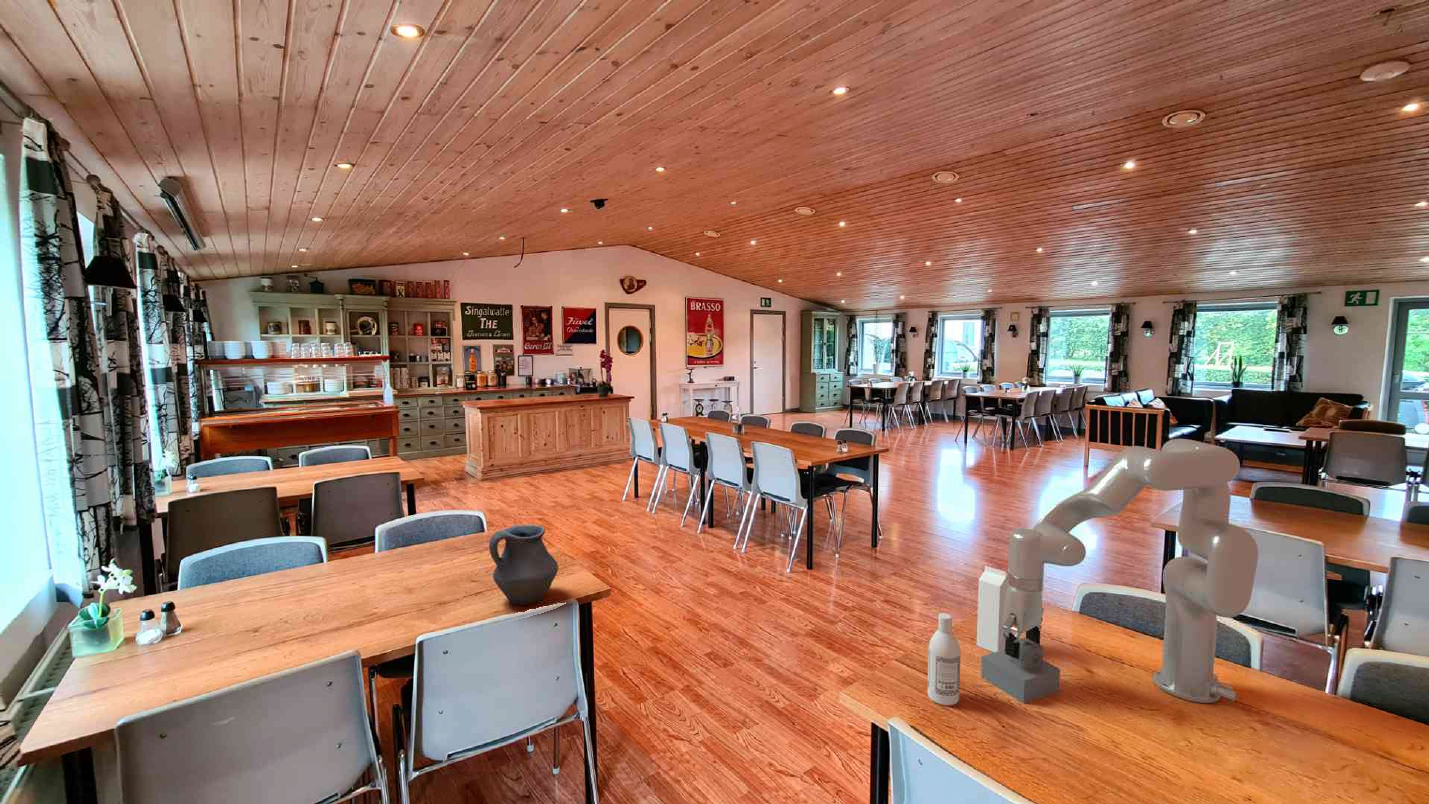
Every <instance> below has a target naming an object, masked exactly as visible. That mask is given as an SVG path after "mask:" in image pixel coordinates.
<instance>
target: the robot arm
mask: <svg viewBox="0 0 1429 804" xmlns="http://www.w3.org/2000/svg"><path fill="white" fill-rule="evenodd" d="M1240 468H1241V464H1240V460H1239V458H1238V456H1237V455H1236V454H1235V453H1234V452H1233V451H1232V450H1230V449H1228V448H1226V447H1223V446H1220V445H1215V444H1211V443H1206V442H1202V441H1198V440H1192V439H1187V438H1174V439H1170V440H1168V441H1166V443H1164V444H1163V445H1162V448H1161V450H1158V449H1154V448H1150V447H1146V446H1140V445H1133V446H1132V445H1131V446H1127V447H1126V448H1124V449H1123V450H1122V451H1120V452H1119V454H1118V455H1116V456H1115V457H1114V459H1113V460H1112V461H1111V462H1110V463H1109V464H1108V465H1107V466H1106V467H1105V468H1104V469H1103V470H1102V471H1101V472H1100V473H1099V474H1098V476H1096V477H1095V479H1093V481H1092V482H1091V483H1090V484H1089V485H1088V486H1087V487H1086V488H1085V489H1083V490H1082V491H1079V492H1077V493H1075V494H1072V495H1071V496H1069V497H1067V498H1065V499H1063V500H1061V501H1059V502H1058V503H1056V504H1055V505H1052V507H1050V509H1048V510H1047V511H1046V512H1045V514H1043V516H1042V517H1041V518H1040V519H1039V520H1038V521H1037V522H1036V523H1035V525H1034V527H1033V528H1032V529H1031V528H1020V527H1019V528H1015V529H1013V530H1011V532H1010V533H1009V539H1008V543H1009V544H1008V569H1007V578H1008V586H1009V587H1008V588H1007V592H1006V597H1005V604H1004V613H1003V626H1002V629H1003V634H1004V638H1005V654H1006V655H1009V656H1011V657H1013V658H1016V659H1018V658H1019V654H1020V642H1018V640H1019V639H1021V635H1022V634H1023V633H1025V638H1027V639H1029V640H1031V641H1033V642H1035V643H1037V644H1039V645H1041V630H1042V626H1043V625H1042V622H1043V615H1044V611H1045V608H1044V607H1043V591H1044V575H1045V574H1044V573H1045V572H1044V571H1045V570H1044V569H1045V564H1048V565H1055V566H1060V567H1074V566H1078V565H1079V564H1081V563H1082V562H1083V561H1084V560H1085V558H1086V556H1087V549H1086V546H1085V545H1084V543H1083V542H1082V541H1081V540H1080V539H1079V538H1078V537H1077V536H1075V535H1074V534H1072V533H1070V532H1072V530H1073V529H1074V528H1076V527H1077V526H1078V525H1080V524H1082V523H1083V522H1086V521H1088V520H1092V519H1099V518H1108V517H1113V516H1117V515H1120V514H1122V513H1123V511H1124V510H1125V509H1126V508H1127V507H1128V506H1129V505H1130V504H1131V503H1132V502H1133V501H1134V500H1135V499H1136V498H1137V497H1138V496H1139V495H1140V494H1141V493H1142V492H1143V491H1144V490H1145V489H1146V488H1147V487H1149V488H1151V489H1153V490H1157V491H1164V492H1165V491H1182V494H1183V495H1182V503H1181V510H1180V516H1179V520H1178V521H1179V522H1178V527H1177V541H1178V544H1179V545H1180V546H1181V547H1182V548H1183V549H1185V550H1186V551H1188V552H1189V553H1191V554H1193V555H1196V556H1198V557H1200V558H1201V559H1205V560H1206V561H1207V562H1205V561H1203V560H1201V559H1197V558H1194V557H1191V556H1177V557H1175V558H1173V559H1170V560H1169V561H1168V562H1167V564H1165V566H1164V569H1163V572H1162V574H1163V575H1162V583H1163V588H1164V589H1163V590H1164V595H1165V615H1164V618H1165V619H1164V635H1163V647H1162V660H1161V661H1162V663H1161V664H1162V665H1161V669H1159V670H1157V671H1155V672H1154V673H1153V681H1154V683H1155V684H1156V686H1158V687H1159V688H1160V689H1162V690H1163V691H1164V692H1166V693H1168V694H1170V695H1173V696H1174V697H1177V698H1180V699H1183V700H1185V701H1191V702H1195V703H1201V704H1211V703H1216V702H1218V701H1219V700H1220V699H1221V697H1223V698H1225V699H1228V700H1230V701H1233V702H1235V701H1236V699H1237V692H1235V691H1234V690H1233V686H1229V685H1226V684H1222V683H1221V682H1220V681H1218V677H1219V675H1217V674H1214V673H1215V657H1216V655H1215V654H1216V646H1217V645H1216V644H1217V643H1216V642H1217V629H1218V620H1217V616H1218V617H1219V618H1220V617H1221V618H1229V619H1230V618H1235V617H1238V616H1240V615H1241V614H1243V612H1245V610H1246V609H1247V608H1248V607H1249V604H1250V601H1251V599H1252V595H1253V594H1252V593H1253V588H1254V582H1255V578H1256V572H1257V567H1258V561H1259V548H1258V547H1259V546H1258V544H1257V542H1256V540H1255V538H1254V537H1253V536H1252V534H1251V533H1249V532H1248V530H1246V529H1244V528H1243V527H1240V526H1238V525H1235V524H1232V523H1230V519H1229V518H1230V509H1231V490H1230V487H1229V484H1228V483H1230V482H1231V481H1233V480H1234V479H1235V478H1236V477H1237V476H1238V475H1239V472H1240ZM1012 631H1013V632H1014V633H1015V632H1016V633H1015V634H1014V633H1012Z"/></svg>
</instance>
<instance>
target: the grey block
mask: <svg viewBox="0 0 1429 804" xmlns="http://www.w3.org/2000/svg"><path fill="white" fill-rule="evenodd" d="M980 668H981V669H980V670H981V671H980V672H981V673H980V678H981V677H982V678H981V679H983V680H984V679H985V681H986V680H987V681H986V682H988V683H989V682H990V683H989V684H991V685H992V686H994V687H995V688H997V689H999V690H1001V691H1002V692H1003V693H1005V694H1007V695H1008V696H1010V697H1012V698H1014V699H1015V700H1016V701H1018V702H1020V703H1021V702H1022V703H1021V704H1027V703H1030V702H1032V701H1036V700H1038V699H1041V698H1043V696H1044V697H1046V696H1049V694H1050V695H1052V694H1051V693H1053V694H1055V693H1059V692H1060V682H1061V680H1060V678H1061V675H1060V674H1061V668H1059V667H1058V666H1055V665H1054V664H1051V663H1050V662H1048V661H1046V660H1044V659H1043V667H1040V668H1037V669H1034V670H1032V671H1029V672H1028V671H1026V670H1024V669H1023V668H1021V667H1019V666H1017V665H1015V664H1013V663H1012V662H1010V656H1009V655H1006V654H1005V649H1004V650H1001V651H998V652H991V653H988V654H985V655H981V667H980ZM1040 697H1041V698H1040ZM1035 699H1036V700H1035Z"/></svg>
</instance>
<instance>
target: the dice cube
mask: <svg viewBox="0 0 1429 804" xmlns="http://www.w3.org/2000/svg"><path fill="white" fill-rule="evenodd" d="M1018 642H1020V654H1019V658H1018V659H1016V658H1013V657H1011V656H1010V662H1012V663H1013V664H1015V665H1017V666H1019V667H1021V668H1023V669H1024V670H1026V671H1028V672H1029V671H1032V670H1034V669H1037V668H1040V667H1043V660H1044V646H1043V645H1041V644H1040V645H1039V644H1037V643H1035V642H1033V641H1031V640H1029V639H1027V638H1026V636H1025V637H1022V638H1021V637H1020V638H1019V640H1018Z"/></svg>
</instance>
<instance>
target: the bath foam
mask: <svg viewBox="0 0 1429 804" xmlns="http://www.w3.org/2000/svg"><path fill="white" fill-rule="evenodd" d="M937 625H938V626H937V627H938V628H937V630H936V631H935V633H934V634H933V635H932V636H931V638H930V641H929V643H928V649H927V651H928V654H927V656H928V658H927V696H928V697H929V699H930V700H931V701H933V702H934V703H937V704H938V705H942V706H954V705H956V704H958V703H959V701H960V687H961V686H960V682H961V679H960V678H961V655H962V654H961V647H960V644H959V641H958V640H957V638H956V636H955V635H954V633H953V631H952V630H953V629H952V628H953V616H952V615H951V614H949V613H945V612H943V613H942V612H941V613H939V614H938V622H937Z"/></svg>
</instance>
